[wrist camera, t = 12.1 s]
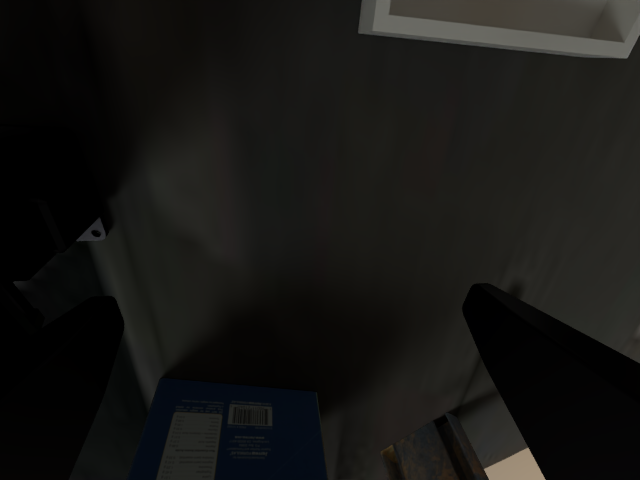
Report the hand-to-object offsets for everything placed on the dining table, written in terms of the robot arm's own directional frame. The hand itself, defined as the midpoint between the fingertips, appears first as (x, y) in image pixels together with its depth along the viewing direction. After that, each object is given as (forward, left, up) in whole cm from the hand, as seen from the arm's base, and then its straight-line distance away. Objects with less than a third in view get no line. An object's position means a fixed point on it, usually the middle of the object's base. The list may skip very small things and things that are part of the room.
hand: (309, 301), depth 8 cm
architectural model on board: (+18, -37, -13) cm, 43 cm away
